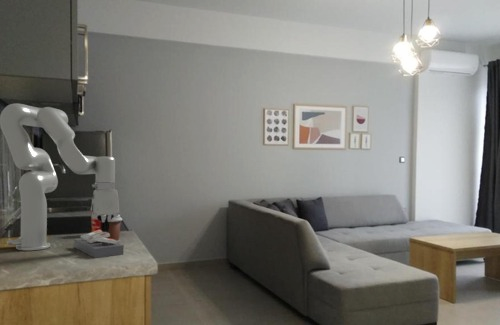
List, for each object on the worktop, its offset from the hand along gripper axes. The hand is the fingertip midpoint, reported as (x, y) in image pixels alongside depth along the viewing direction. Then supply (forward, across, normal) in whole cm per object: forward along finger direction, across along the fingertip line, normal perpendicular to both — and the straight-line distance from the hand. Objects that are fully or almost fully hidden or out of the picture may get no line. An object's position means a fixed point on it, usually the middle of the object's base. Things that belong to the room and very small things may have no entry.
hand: (104, 231), depth 169 cm
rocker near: (+2, -3, -7) cm, 8 cm away
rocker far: (+2, -3, +7) cm, 8 cm away
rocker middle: (+2, -3, 0) cm, 3 cm away
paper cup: (+8, +10, +35) cm, 37 cm away
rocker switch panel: (+8, -3, 0) cm, 8 cm away
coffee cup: (+8, +9, +16) cm, 20 cm away
